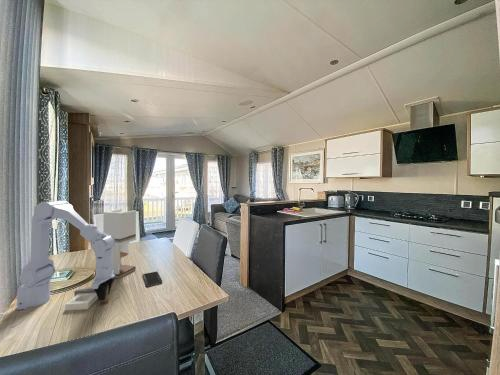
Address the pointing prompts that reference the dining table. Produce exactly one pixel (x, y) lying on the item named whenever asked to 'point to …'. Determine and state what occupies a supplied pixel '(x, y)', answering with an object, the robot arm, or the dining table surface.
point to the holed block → (81, 301)
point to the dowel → (105, 301)
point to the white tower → (120, 237)
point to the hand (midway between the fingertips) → (104, 297)
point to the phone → (152, 279)
